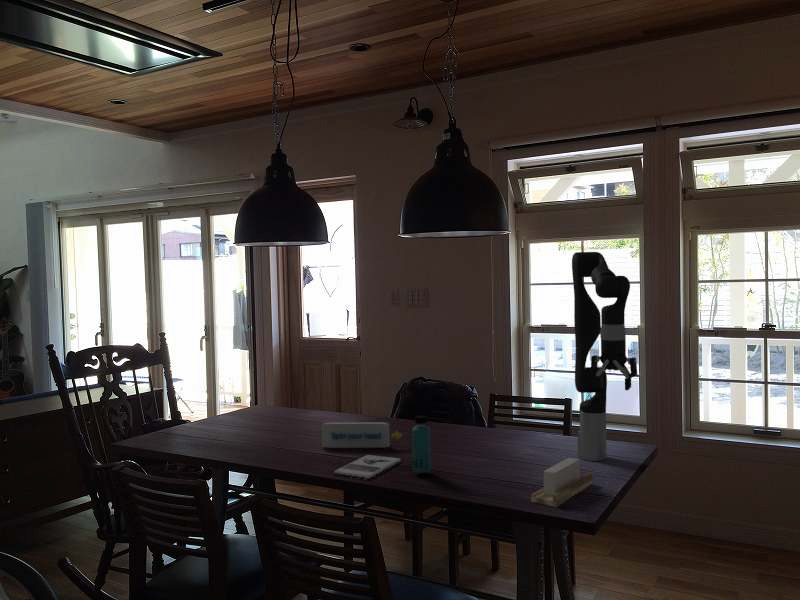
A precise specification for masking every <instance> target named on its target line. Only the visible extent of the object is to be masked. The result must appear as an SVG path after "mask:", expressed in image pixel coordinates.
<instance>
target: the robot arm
mask: <svg viewBox="0 0 800 600" xmlns="http://www.w3.org/2000/svg"><path fill="white" fill-rule="evenodd" d="M607 263H608V262H607V261H606V259H605V257H604V255H603V254H602V253H601V252H598V251H577V252H574V253H573V255H572V258H571V272H572V284H573V295H574V296H573V299H574V301H573V302H574V305H573V307H574V308H573V309H574V311H573V318H574V341H575V358H574V359H575V361H574V363H575V364H574V386H575V390H576V391H577V392H578V393H581V394H583V393H584V394H585V393H586V394H589V393H591V394H592V393H594V395H593V396H592V397H590V398H587V399H586V400H584V401H581V402H580V404H579V430H578V431H577V456H578V458H581V459H582V460H585V461H590V462H591V461H592V462H602V461H605V460H607V457H608V455H607V454H608V452H607V451H608V450H607V447H608V446H607V389H608V388H607V385H608V375H607V372H606V371H612V370H613V371H620V373H621V374H622V375H623V376H624V390H625V391H629V390H630V389H631V388H632V378H635V377H637V376H638V364H637V357H636V356H635V357H634V356H633V357H627V355H626V353H627V350H626V349H627V347H626V345H627V344H626V343H627V342H626V339H627V337H626V325H625V311H626V305H627V301H628V298H629V297H628V296H629V294H630V290H631V282H630V280H629V279H628V277H626V275H625V276H624V275H616V273H614V272H613V271H612V270H611V269H610V268H609V265H608V264H607ZM583 278H590V279H591V282H592V284H593V285H595V286H594V287H595V289H594V290H595V293H596V295H597V296H598V297H599V298H601V299H616V300H615V302H613V304H607V305H604V306H602V307H601V311H600V309H599V307H598V306H597V304H596V303H595V302H594V300H593V298H592V297H591V296H590V295H589V293H588V290H587V289H586V286H585V283H584V279H583ZM599 336H600V337H599ZM598 337H599V338H600V355H599V356H598V355H595V354H594V355H591V357H590V366H586V364H587V363H586V362H587V358H588V356H589V354H590V351H591V349H592V348H593V346H594V345H595V343H596V341H597V339H598ZM599 362H601V364H602V365H601V366H598V363H599ZM627 363H628V365H629V366H630V367H629V369H630V371H629V369H628V367H627V366H626V364H627Z"/></svg>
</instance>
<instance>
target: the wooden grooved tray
mask: <svg viewBox="0 0 800 600" xmlns="http://www.w3.org/2000/svg"><path fill="white" fill-rule="evenodd" d="M592 475H593V473H592V472H587V473H586V474H584V475H582V476H580V478H579V479H577V480H576V481H574V482H573V483H571V484H569V485H568V486H566V487H564V488H563V489H561V490H559V491H558V492H556V493H554V494H553V496H549V495H544V487H542V488H540V489H538V490H537V491H535V492H533V493H532V494H531V495H530V502H531V503H536V504H540V505H544V506H549V507H553V508H558V507H560V505H562V504H564V503H565V502H567V501H568V500H569V498H570V499H572V498H573V497H575V496H576V495H577V494H579V493H580V492H582V491H584V490H585V489H586V487H587V488H588V487H590V486H591V485H592V484H593V477H592ZM589 485H590V486H589ZM583 489H584V490H583ZM578 492H579V493H578ZM575 494H576V495H575ZM572 496H573V497H572ZM566 500H567V501H566Z"/></svg>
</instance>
